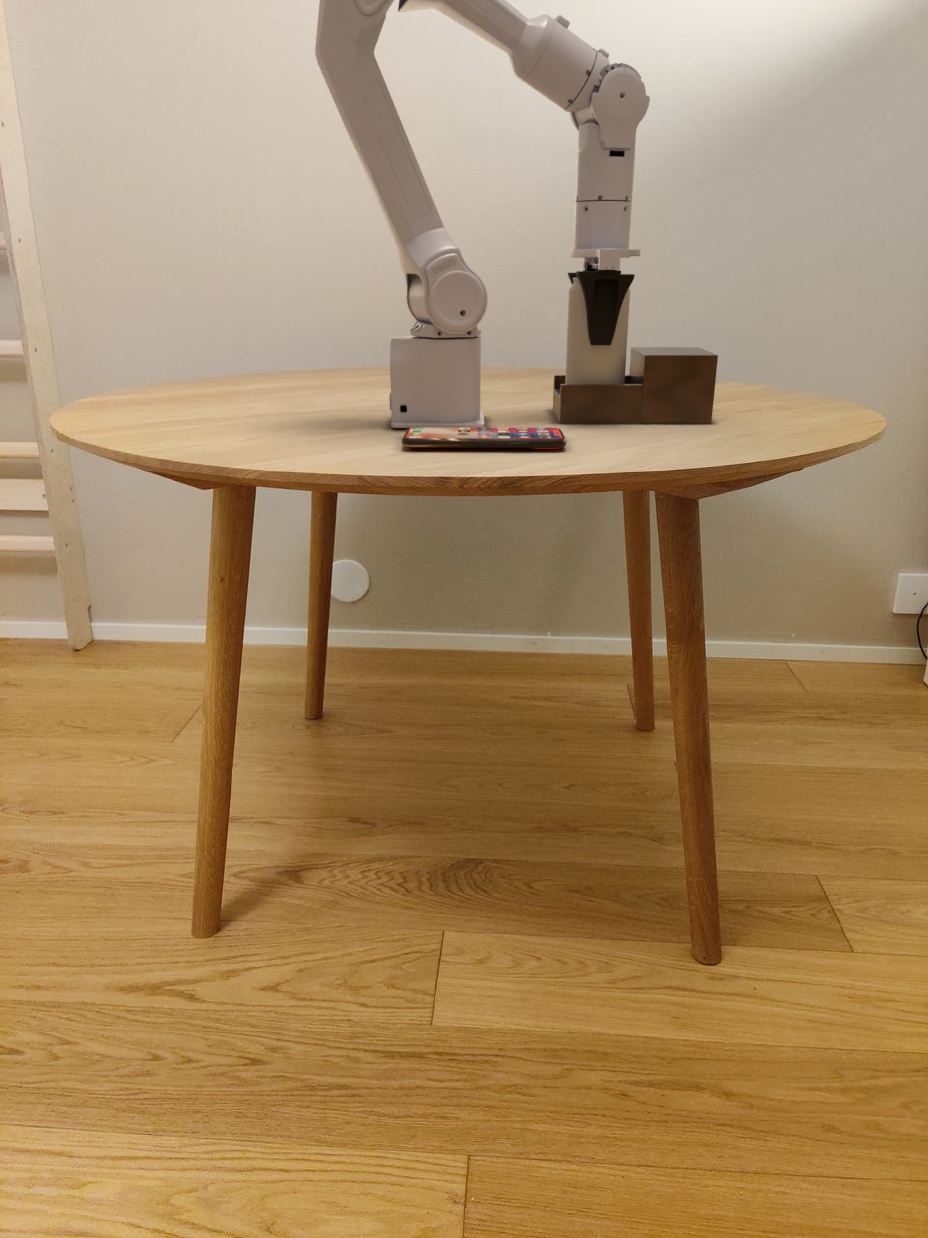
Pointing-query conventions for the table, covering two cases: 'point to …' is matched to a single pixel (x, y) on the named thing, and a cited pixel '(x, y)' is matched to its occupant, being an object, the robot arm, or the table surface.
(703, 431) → the table surface
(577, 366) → the beverage can
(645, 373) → the wooden desk organizer
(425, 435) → the smartphone
